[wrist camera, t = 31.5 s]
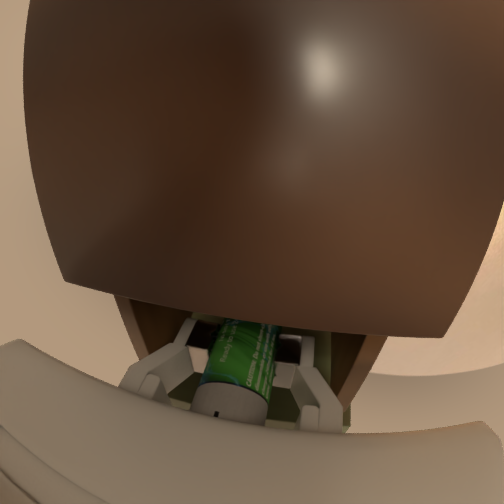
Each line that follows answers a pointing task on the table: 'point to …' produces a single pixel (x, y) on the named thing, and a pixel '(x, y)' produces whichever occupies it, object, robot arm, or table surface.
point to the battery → (239, 373)
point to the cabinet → (271, 154)
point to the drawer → (281, 399)
